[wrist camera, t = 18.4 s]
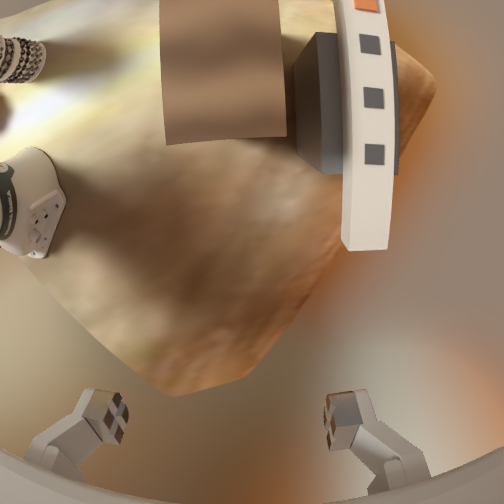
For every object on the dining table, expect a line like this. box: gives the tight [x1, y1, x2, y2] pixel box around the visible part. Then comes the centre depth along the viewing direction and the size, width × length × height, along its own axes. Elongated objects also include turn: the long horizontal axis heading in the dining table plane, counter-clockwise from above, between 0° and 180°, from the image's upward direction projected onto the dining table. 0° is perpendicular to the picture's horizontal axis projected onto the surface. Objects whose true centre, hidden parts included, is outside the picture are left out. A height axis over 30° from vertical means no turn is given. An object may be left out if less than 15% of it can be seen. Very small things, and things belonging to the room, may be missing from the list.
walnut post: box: [159, 0, 287, 145], centre depth 27 cm, size 16×8×26 cm, turn 3°
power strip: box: [333, 0, 395, 251], centre depth 23 cm, size 26×4×3 cm, turn 3°
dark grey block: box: [293, 32, 399, 175], centre depth 33 cm, size 14×8×18 cm, turn 3°
